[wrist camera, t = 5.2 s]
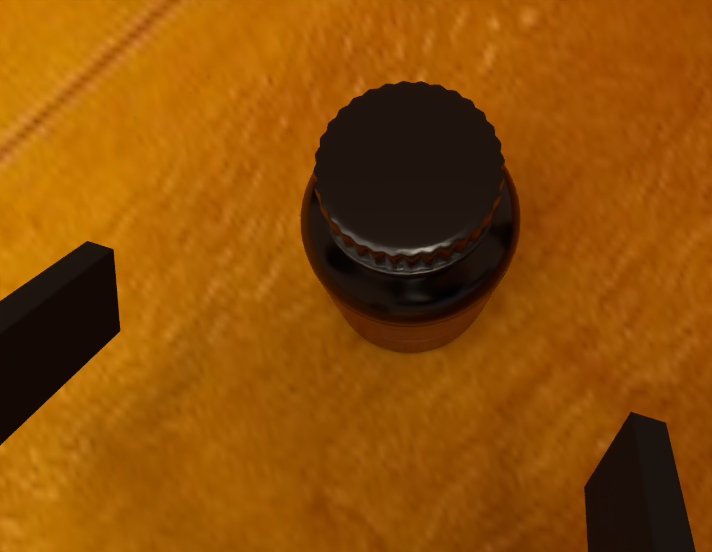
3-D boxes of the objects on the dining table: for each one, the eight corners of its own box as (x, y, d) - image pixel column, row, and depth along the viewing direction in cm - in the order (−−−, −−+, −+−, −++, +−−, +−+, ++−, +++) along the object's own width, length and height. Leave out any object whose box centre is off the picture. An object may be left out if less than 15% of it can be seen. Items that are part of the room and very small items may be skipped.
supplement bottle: (509, 237, 26) (595, 96, 14) (451, 379, 25) (493, 352, 13) (368, 183, 27) (340, 11, 15) (307, 316, 26) (226, 240, 14)
